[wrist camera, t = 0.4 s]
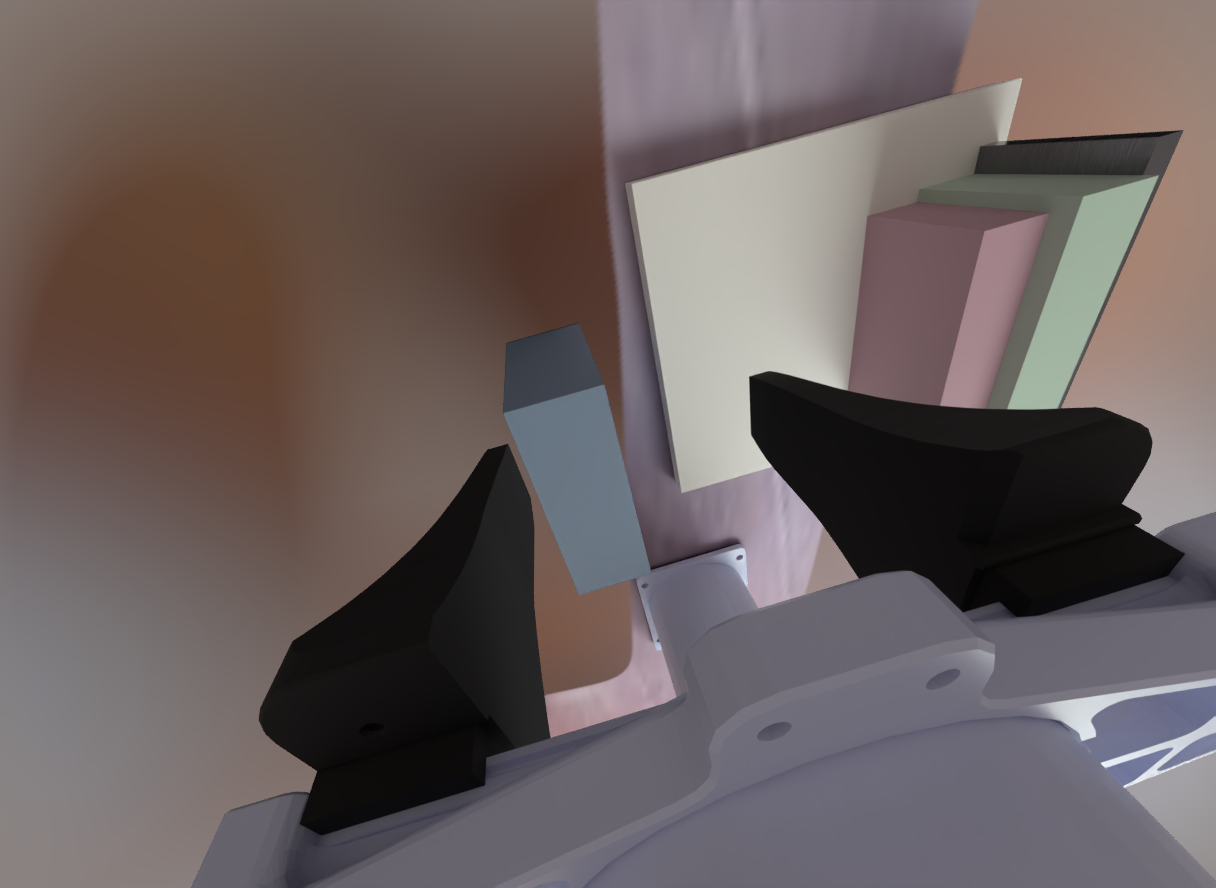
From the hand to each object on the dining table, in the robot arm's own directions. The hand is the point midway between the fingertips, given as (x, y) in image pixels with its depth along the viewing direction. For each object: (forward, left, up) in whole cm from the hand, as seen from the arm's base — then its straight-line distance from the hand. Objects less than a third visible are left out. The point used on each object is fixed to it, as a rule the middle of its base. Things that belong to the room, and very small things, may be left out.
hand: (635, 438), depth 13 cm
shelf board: (-2, -11, -10) cm, 15 cm away
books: (-2, -15, -8) cm, 18 cm away
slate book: (-4, +2, -10) cm, 11 cm away
